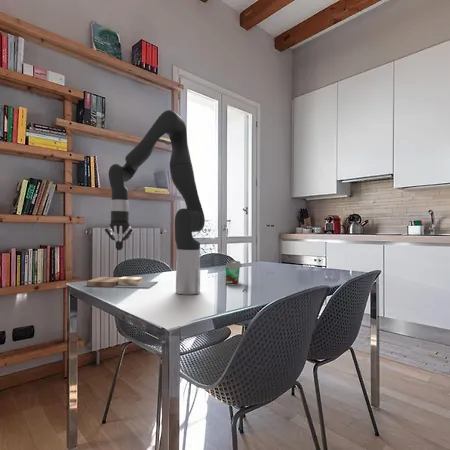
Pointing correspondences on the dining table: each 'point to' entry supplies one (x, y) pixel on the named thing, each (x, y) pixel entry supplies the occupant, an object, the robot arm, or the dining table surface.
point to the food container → (232, 272)
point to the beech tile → (130, 280)
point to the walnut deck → (104, 281)
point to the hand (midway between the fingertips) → (119, 249)
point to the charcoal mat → (143, 285)
